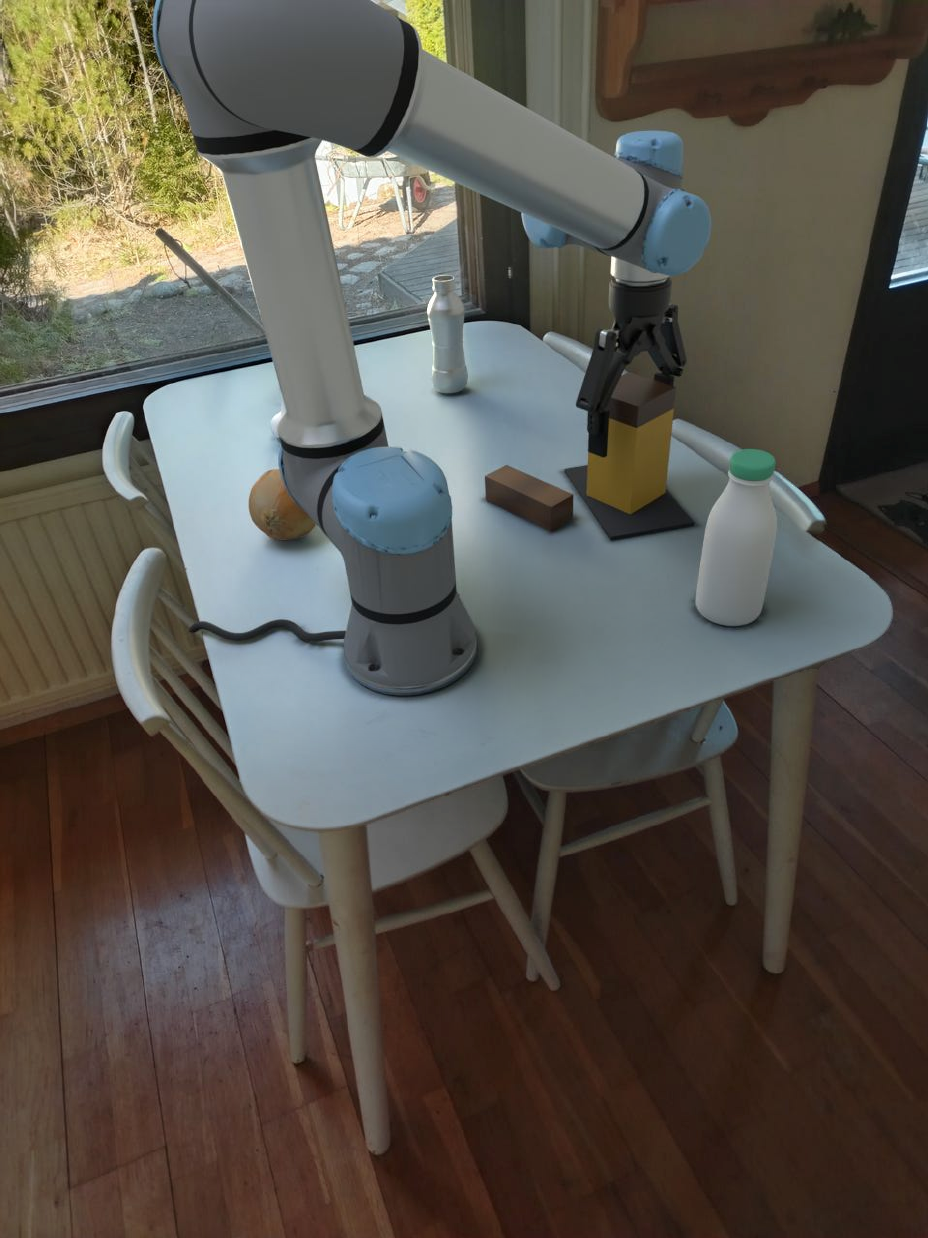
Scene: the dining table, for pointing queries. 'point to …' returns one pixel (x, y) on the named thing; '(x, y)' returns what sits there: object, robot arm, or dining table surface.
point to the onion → (277, 509)
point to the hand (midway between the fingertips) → (629, 436)
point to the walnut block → (529, 497)
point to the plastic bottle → (447, 336)
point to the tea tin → (634, 445)
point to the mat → (643, 521)
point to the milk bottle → (739, 543)
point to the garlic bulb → (277, 420)
